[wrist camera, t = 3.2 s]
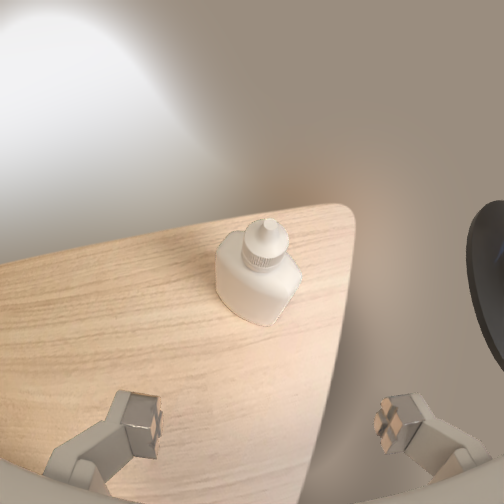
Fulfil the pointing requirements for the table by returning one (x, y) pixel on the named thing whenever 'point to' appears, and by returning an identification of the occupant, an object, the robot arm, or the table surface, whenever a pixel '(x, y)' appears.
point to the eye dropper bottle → (257, 272)
